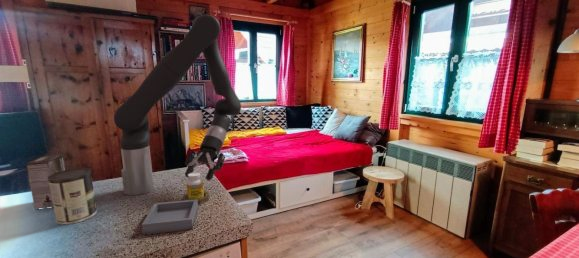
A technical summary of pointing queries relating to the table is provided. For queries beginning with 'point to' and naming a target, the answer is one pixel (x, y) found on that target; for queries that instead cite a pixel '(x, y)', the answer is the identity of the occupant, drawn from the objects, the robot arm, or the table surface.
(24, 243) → the table surface
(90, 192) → the coffee can
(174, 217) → the tray
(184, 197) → the holder ring
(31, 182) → the coffee box
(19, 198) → the table surface
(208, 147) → the robot arm
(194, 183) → the supplement bottle
